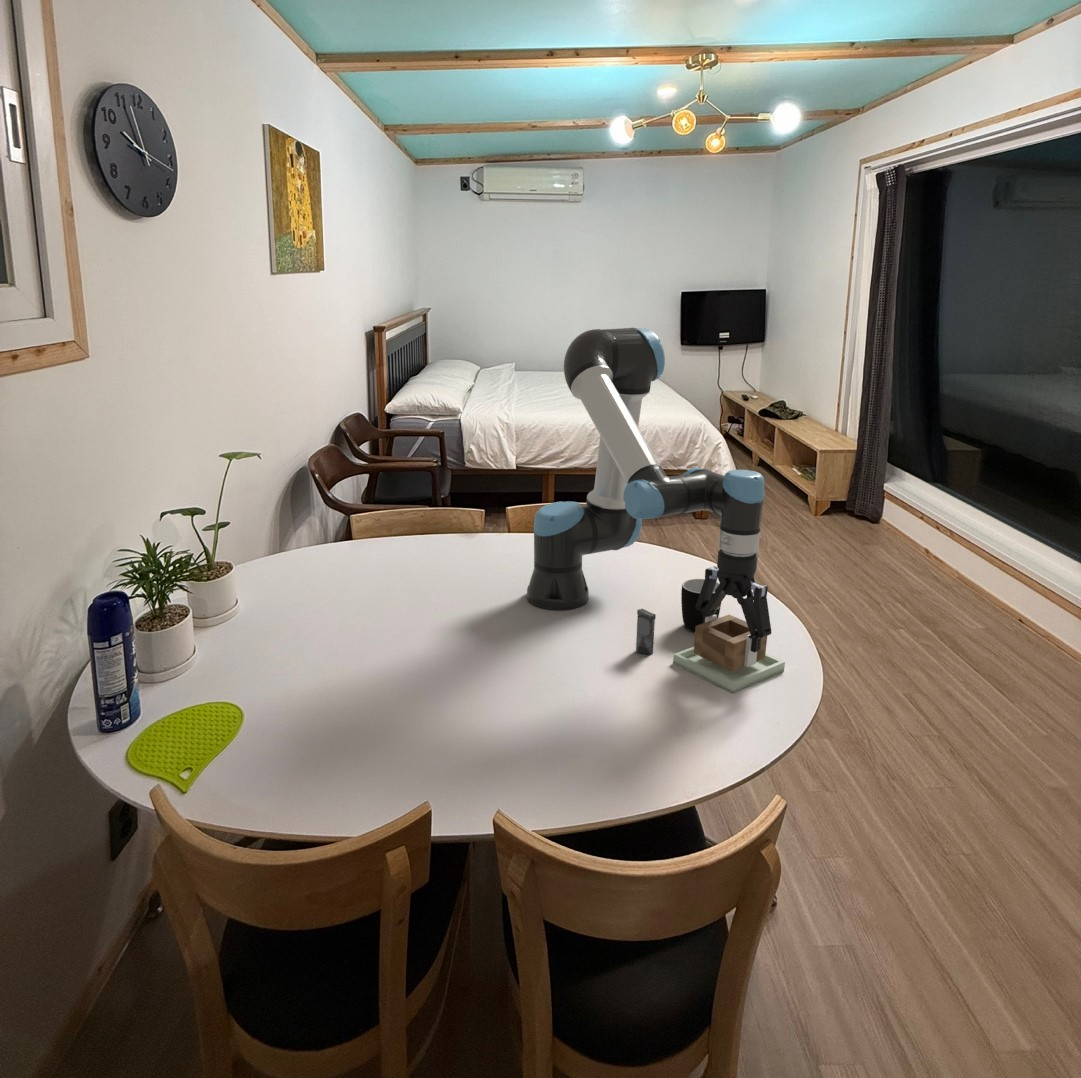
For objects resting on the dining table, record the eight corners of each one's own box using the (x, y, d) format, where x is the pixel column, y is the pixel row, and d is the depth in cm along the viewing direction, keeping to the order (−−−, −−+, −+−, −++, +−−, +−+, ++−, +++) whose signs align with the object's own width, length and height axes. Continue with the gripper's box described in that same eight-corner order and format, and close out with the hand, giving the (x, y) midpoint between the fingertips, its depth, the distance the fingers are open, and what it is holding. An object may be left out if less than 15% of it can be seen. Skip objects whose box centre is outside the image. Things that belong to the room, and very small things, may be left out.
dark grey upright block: (631, 650, 169) (633, 611, 167) (644, 646, 172) (646, 607, 169) (644, 657, 166) (646, 617, 164) (657, 652, 168) (659, 613, 166)
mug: (706, 639, 175) (709, 596, 172) (671, 628, 180) (674, 586, 177) (733, 623, 183) (737, 581, 180) (699, 612, 189) (702, 572, 186)
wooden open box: (726, 640, 169) (728, 614, 167) (765, 658, 161) (767, 630, 159) (693, 653, 163) (695, 626, 161) (731, 671, 155) (734, 643, 153)
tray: (673, 662, 164) (673, 654, 164) (724, 643, 173) (725, 635, 172) (732, 693, 152) (732, 684, 152) (784, 670, 161) (785, 661, 160)
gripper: (681, 539, 161) (675, 639, 168) (773, 571, 144) (761, 681, 151) (707, 532, 166) (700, 630, 173) (799, 563, 148) (787, 671, 155)
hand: (728, 654), depth 162 cm, fingers closed on wooden open box, 10 cm apart
